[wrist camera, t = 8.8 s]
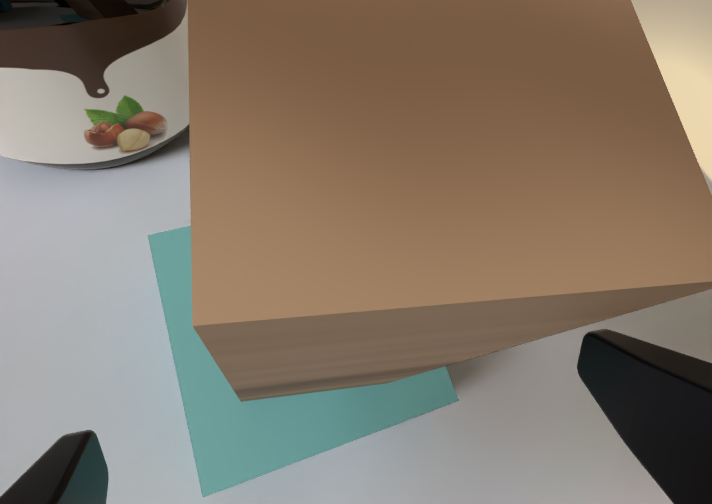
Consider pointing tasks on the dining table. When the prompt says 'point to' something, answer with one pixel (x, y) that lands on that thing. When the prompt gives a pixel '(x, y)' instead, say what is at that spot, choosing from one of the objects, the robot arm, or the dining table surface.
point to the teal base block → (272, 415)
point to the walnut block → (427, 183)
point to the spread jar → (92, 80)
